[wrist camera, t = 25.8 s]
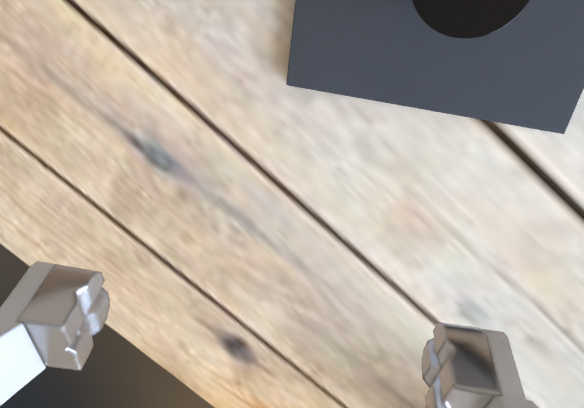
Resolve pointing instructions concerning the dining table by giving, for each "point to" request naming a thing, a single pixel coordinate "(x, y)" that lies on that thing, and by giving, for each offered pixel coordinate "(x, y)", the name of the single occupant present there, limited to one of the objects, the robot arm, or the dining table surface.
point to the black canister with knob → (468, 16)
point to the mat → (444, 60)
